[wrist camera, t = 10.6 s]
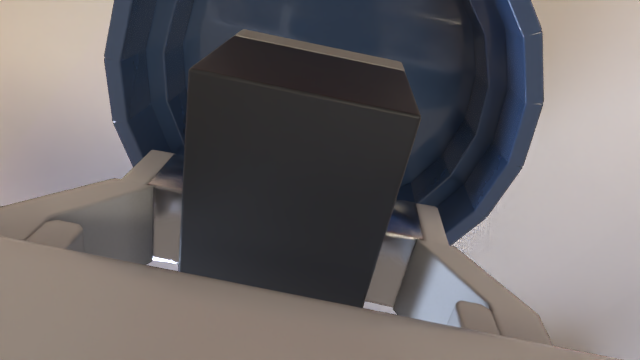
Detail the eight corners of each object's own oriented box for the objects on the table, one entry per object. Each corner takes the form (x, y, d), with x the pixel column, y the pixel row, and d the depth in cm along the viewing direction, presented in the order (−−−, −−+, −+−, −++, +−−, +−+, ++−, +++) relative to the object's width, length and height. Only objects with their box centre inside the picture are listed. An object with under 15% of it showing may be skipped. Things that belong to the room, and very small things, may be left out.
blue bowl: (305, -233, 16) (283, -302, 11) (578, 63, 19) (641, 98, 15) (102, 88, 22) (35, 125, 17) (339, 267, 25) (335, 335, 21)
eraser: (241, 27, 10) (187, 67, 7) (403, 61, 10) (422, 116, 7) (216, 274, 13) (172, 379, 10) (338, 298, 13) (331, 410, 10)
